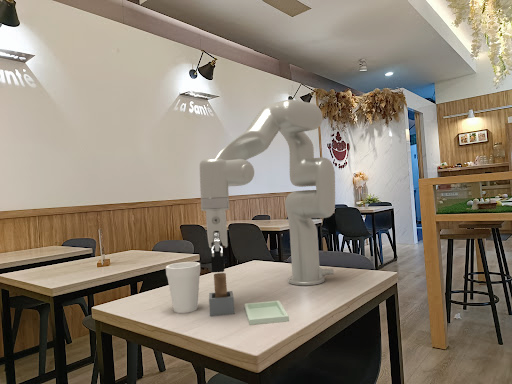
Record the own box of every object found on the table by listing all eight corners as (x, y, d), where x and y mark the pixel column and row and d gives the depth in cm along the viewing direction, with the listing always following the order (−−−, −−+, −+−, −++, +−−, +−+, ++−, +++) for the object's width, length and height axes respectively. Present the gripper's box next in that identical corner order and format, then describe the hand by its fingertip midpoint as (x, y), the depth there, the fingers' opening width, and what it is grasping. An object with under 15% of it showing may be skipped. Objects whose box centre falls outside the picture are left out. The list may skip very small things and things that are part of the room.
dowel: (227, 308, 105) (225, 272, 105) (228, 312, 102) (225, 274, 102) (216, 310, 105) (213, 273, 105) (216, 313, 102) (213, 276, 102)
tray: (244, 310, 105) (244, 303, 105) (279, 307, 106) (279, 300, 106) (249, 327, 91) (249, 319, 91) (289, 323, 93) (288, 316, 93)
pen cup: (233, 308, 107) (232, 290, 107) (234, 316, 101) (233, 297, 101) (210, 311, 106) (209, 293, 106) (210, 318, 100) (209, 299, 100)
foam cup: (171, 307, 112) (168, 263, 112) (203, 305, 112) (200, 260, 112) (166, 318, 102) (163, 269, 102) (201, 315, 103) (198, 267, 103)
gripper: (230, 204, 95) (233, 273, 95) (227, 204, 112) (230, 262, 112) (200, 206, 94) (202, 275, 94) (201, 205, 112) (204, 264, 111)
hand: (217, 268), depth 103 cm, fingers open, 9 cm apart
